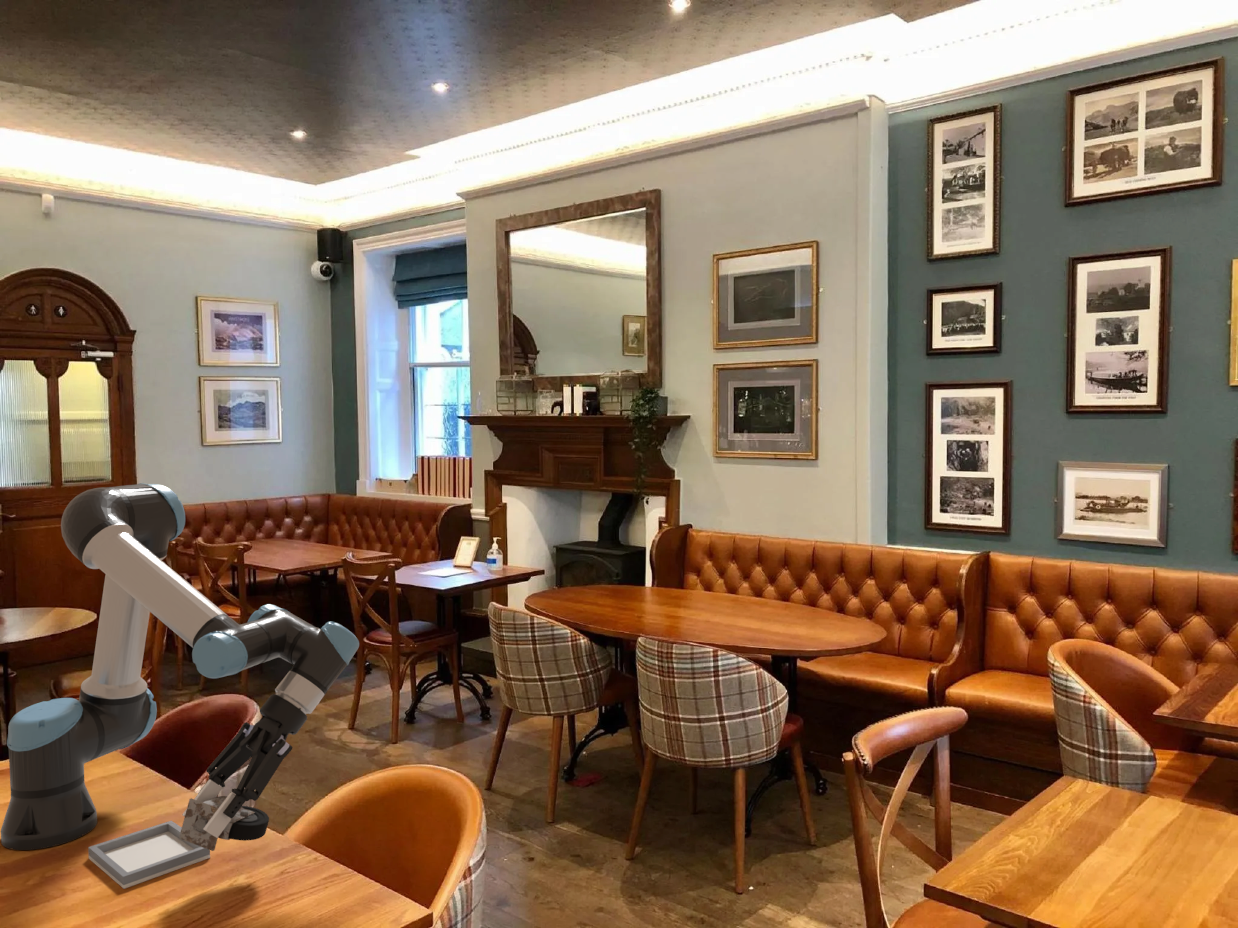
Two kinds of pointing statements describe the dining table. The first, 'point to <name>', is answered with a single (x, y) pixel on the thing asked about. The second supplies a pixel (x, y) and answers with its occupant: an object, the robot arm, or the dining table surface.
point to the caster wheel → (240, 827)
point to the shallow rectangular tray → (146, 854)
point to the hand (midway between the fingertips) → (199, 825)
